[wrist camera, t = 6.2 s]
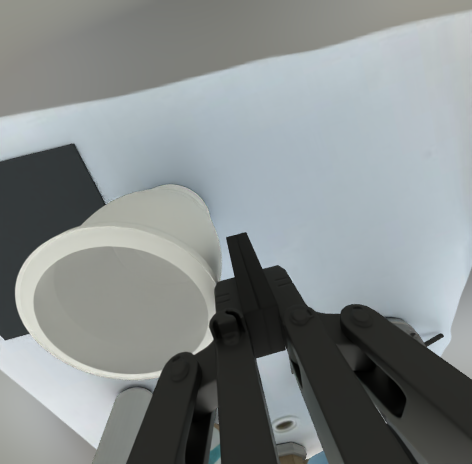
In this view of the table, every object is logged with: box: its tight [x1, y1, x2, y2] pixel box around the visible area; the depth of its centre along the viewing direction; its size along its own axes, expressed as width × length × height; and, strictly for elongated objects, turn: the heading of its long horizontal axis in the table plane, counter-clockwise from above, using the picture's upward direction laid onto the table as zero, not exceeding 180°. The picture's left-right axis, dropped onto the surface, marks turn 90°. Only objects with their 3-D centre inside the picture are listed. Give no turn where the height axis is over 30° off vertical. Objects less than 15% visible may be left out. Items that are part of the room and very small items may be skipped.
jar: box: [15, 184, 222, 380], centre depth 18 cm, size 11×10×15 cm
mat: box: [0, 144, 105, 340], centre depth 24 cm, size 20×20×1 cm
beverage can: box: [92, 387, 152, 464], centre depth 31 cm, size 6×6×12 cm
